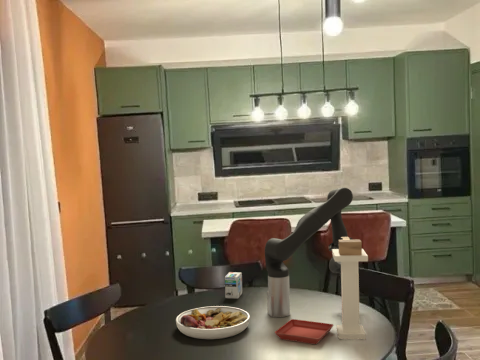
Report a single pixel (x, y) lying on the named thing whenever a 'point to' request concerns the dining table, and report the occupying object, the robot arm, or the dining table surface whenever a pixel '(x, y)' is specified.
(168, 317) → the dining table surface
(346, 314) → the tall stand
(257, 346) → the dining table surface
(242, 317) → the bowl
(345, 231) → the robot arm
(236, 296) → the light bulb box
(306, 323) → the plant saucer
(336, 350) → the dining table surface
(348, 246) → the beech mallet
